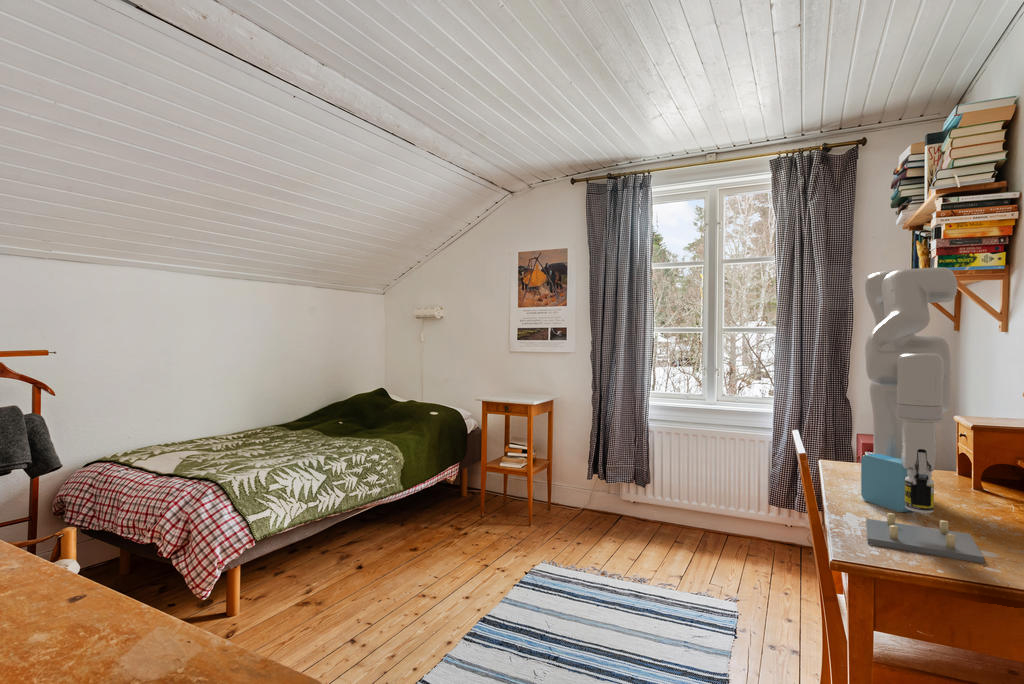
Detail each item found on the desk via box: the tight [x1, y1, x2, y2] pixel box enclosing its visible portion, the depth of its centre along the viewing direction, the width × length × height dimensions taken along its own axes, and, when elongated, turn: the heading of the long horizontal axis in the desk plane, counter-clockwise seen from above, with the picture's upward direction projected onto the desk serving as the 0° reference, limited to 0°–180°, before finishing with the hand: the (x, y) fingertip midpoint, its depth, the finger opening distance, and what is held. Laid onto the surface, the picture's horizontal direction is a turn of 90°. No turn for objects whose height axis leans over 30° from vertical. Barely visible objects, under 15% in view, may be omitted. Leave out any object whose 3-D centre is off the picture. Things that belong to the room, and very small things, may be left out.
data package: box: [860, 453, 912, 513], centre depth 134 cm, size 12×4×12 cm, turn 13°
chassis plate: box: [865, 512, 985, 564], centre depth 111 cm, size 14×18×4 cm
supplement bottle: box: [905, 467, 935, 514], centre depth 110 cm, size 5×5×8 cm
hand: (919, 500), depth 110 cm, fingers closed on supplement bottle, 4 cm apart
